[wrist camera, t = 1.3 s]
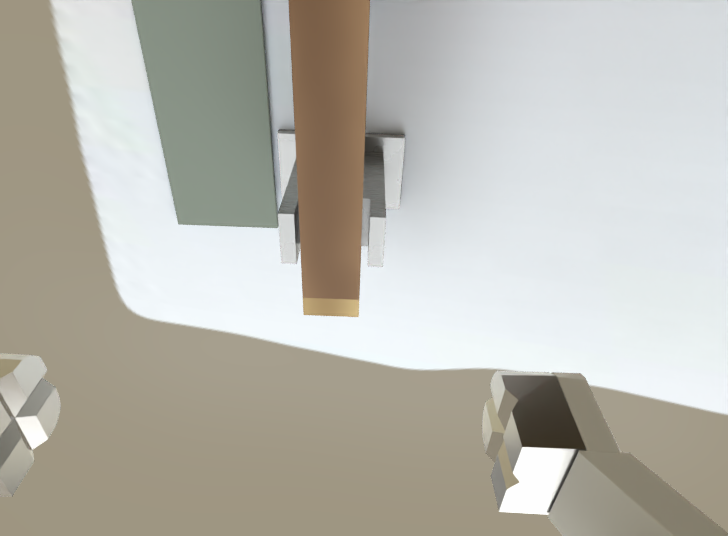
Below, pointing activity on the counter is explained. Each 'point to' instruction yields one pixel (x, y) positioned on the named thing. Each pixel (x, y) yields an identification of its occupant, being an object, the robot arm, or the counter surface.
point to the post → (377, 193)
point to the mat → (211, 108)
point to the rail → (330, 147)
